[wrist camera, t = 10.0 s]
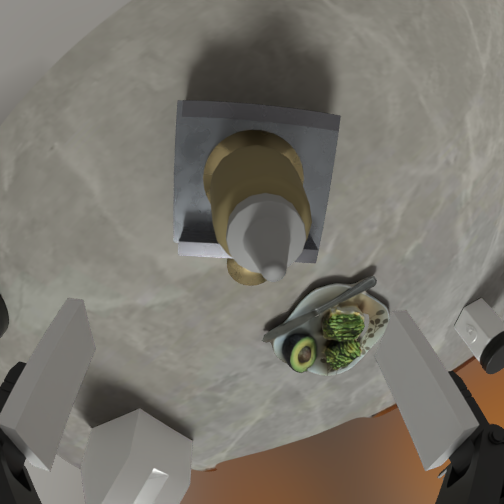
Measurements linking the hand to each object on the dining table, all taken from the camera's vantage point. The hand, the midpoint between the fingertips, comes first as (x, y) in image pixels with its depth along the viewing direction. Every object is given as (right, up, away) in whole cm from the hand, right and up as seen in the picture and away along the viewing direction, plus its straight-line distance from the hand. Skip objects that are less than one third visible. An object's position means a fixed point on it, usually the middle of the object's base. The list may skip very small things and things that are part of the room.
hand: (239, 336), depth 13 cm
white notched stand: (-25, -38, +48) cm, 66 cm away
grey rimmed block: (0, +13, +23) cm, 27 cm away
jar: (+42, -9, +37) cm, 57 cm away
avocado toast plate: (+12, -9, +35) cm, 38 cm away
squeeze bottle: (+1, +11, +19) cm, 22 cm away
